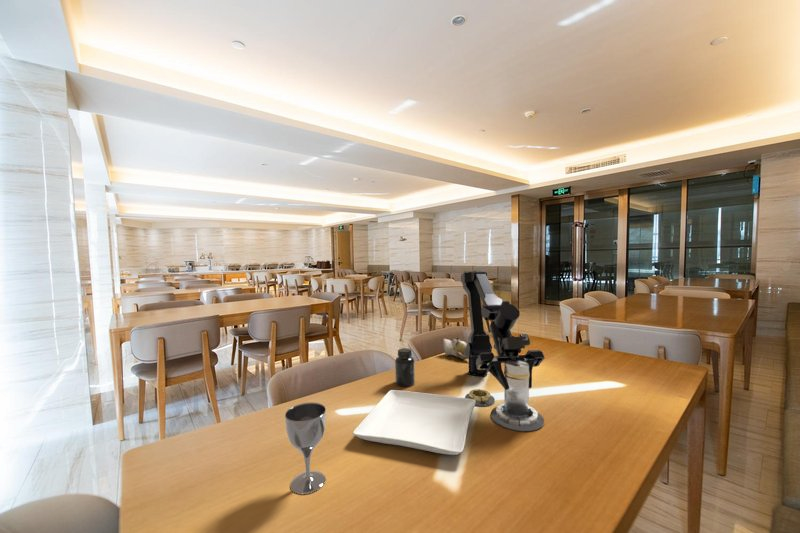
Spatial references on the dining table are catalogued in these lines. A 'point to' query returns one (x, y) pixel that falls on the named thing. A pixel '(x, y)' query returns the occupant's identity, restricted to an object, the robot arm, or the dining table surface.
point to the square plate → (419, 421)
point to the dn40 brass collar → (481, 397)
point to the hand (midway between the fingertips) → (518, 388)
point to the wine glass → (306, 442)
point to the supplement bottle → (404, 368)
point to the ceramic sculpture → (455, 348)
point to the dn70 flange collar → (517, 419)
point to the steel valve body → (516, 387)
